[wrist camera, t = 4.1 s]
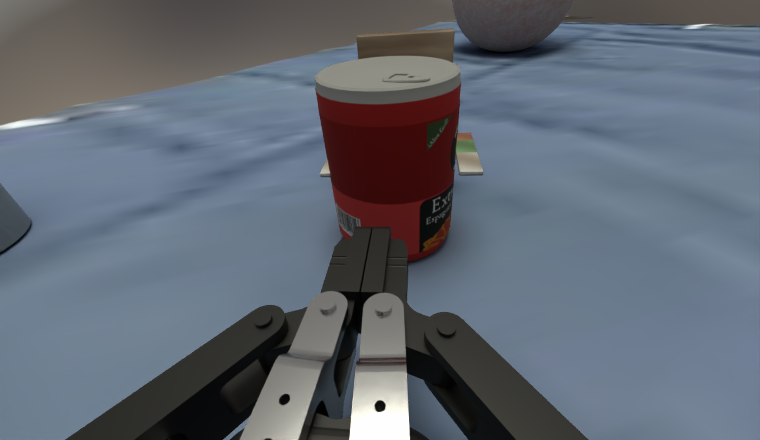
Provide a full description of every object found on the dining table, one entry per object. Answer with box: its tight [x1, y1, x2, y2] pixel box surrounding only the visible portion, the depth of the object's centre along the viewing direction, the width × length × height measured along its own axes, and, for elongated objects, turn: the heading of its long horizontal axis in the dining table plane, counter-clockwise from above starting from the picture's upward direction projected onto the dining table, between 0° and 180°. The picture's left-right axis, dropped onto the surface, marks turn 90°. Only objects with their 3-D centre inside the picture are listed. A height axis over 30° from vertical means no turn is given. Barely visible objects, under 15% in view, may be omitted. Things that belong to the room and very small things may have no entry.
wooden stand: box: [320, 29, 483, 176], centre depth 37 cm, size 22×15×9 cm
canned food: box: [315, 56, 461, 262], centre depth 21 cm, size 8×8×11 cm
